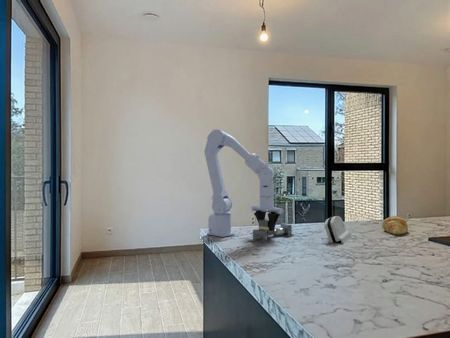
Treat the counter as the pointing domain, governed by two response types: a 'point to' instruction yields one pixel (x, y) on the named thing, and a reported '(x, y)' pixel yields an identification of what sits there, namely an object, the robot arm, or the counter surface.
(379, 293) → the counter surface
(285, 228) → the shaft
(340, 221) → the hinge
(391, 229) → the bread loaf
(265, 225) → the block
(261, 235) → the shaft
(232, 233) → the robot arm
